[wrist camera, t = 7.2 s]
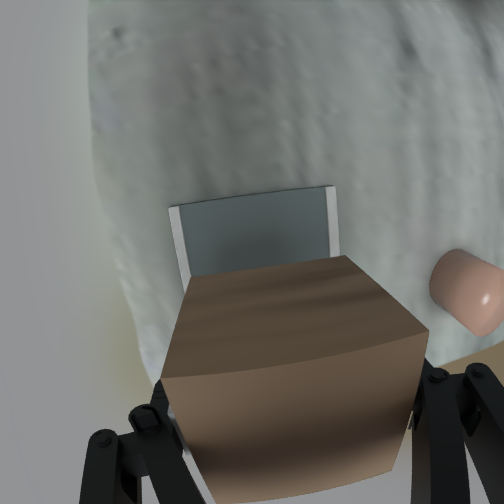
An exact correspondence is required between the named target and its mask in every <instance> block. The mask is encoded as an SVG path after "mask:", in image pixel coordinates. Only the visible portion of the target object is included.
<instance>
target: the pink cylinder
mask: <svg viewBox="0 0 504 504" xmlns="http://www.w3.org/2000/svg"><path fill="white" fill-rule="evenodd" d="M429 288H430V295H431V297H432V299H433V301H434V302H435V303H436V304H438V305H439V306H440V307H441V308H443V309H444V310H445V311H446V312H448V313H449V314H450V315H451V316H453V317H454V318H455V319H456V320H457V321H459V322H460V323H461V324H462V325H464V326H465V327H466V328H467V329H468V330H470V331H471V332H472V333H473V334H474V335H476V336H485V335H488V334H490V333H491V332H493V331H494V330H495V329H496V328H497V327H498V326H499V325H500V324H501V322H502V321H503V320H504V270H502V269H500V268H498V267H496V266H494V265H492V264H490V263H488V262H486V261H484V260H482V259H480V258H478V257H476V256H474V255H472V254H470V253H468V252H466V251H464V250H461V249H454V250H451V251H449V252H447V253H446V254H445V255H444V256H443V257H442V258H441V259H440V260H439V261H438V263H437V264H436V266H435V268H434V270H433V272H432V275H431V279H430V287H429Z"/></svg>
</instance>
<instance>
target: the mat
mask: <svg viewBox="0 0 504 504" xmlns="http://www.w3.org/2000/svg"><path fill="white" fill-rule="evenodd" d="M168 210H169V216H170V222H171V228H172V233H173V238H174V244H175V249H176V254H177V259H178V264H179V269H180V274H181V279H182V283H183V288H184V293H186V290H187V287H188V284H189V280H190V277H196V276H203V275H211V274H218V273H226V272H233V271H240V270H247V269H254V268H262V267H269V266H276V265H283V264H289V263H296V262H303V261H310V260H317V259H323V258H330V257H337V256H340V251H339V230H338V213H337V199H336V186H321V187H311V188H302V189H293V190H284V191H275V192H267V193H259V194H251V195H243V196H236V197H229V198H222V199H215V200H208V201H201V202H195V203H188V204H182V205H176V206H170V207H169V208H168Z"/></svg>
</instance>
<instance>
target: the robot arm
mask: <svg viewBox="0 0 504 504" xmlns="http://www.w3.org/2000/svg"><path fill="white" fill-rule="evenodd" d="M412 411H413V414H412V417H411V420H410V424H409V427H408V429H411V426H412V487H411V488H412V489H411V504H470V489H469V479H468V468H467V460H466V453H465V446H464V442H465V444H466V447H467V449H468V451H469V453H470V456H471V458H472V460H473V463H474V465H475V467H476V470H477V472H478V474H479V477H480V479H481V482H482V484H483V487H484V489H485V492H486V495H487V497H488V500H489V503H490V504H504V387H503V385H502V384H501V383H500V381H499V380H498V379H497V377H496V376H495V375H494V373H493V372H492V371H491V369H490V368H489V367H488V366H487V365H485V364H483V363H472V364H470V365H468V366H467V367H466V370H465V373H461V374H452V375H450V374H449V372H447V371H446V370H444V369H442V368H434V367H433V366H432V365H431V364H430V363H429V362H428V361H427V359H426V358H424V363H423V367H422V372H421V376H420V380H419V385H418V389H417V393H416V396H415V400H414V404H413V408H412ZM128 420H129V422H130V423H131V425H132V427H133V429H134V432H131V433H128V434H123V435H119V436H118V435H117V434H116V433H115V431H112V430H110V429H102V430H99V431H97V432H95V433H94V434H93V435H92V436H91V437H90V439H89V442H88V448H87V453H86V459H85V465H84V471H83V478H82V485H81V492H80V501H79V504H142V488H141V487H142V486H141V485H142V484H141V477H143V476H148V475H149V476H150V479H151V482H152V485H153V488H154V490H155V493H156V496H157V498H158V501H159V503H160V504H206V502H205V501H204V499H203V497H202V495H201V493H200V491H199V489H198V487H197V485H196V484H195V482H194V480H193V478H192V476H191V474H190V472H189V470H188V468H187V466H186V463H185V461H184V460H183V457H182V454H183V449H184V451H185V454H186V455H192V454H191V452H190V450H189V448H188V446H187V443H186V441H185V439H184V437H183V434H182V432H181V430H180V427H179V425H178V423H177V420H176V418H175V415H174V413H173V411H172V408H171V406H170V403H169V400H168V398H167V395H166V393H165V390H164V387H163V385H162V382H161V379H159V380H158V382H157V383H156V384H155V387H154V391H153V395H152V399H151V402H150V404H143V405H140V406H137V407H135V408H134V409H133V410H132V411H131V412H130V414H129V418H128Z"/></svg>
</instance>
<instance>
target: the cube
mask: <svg viewBox="0 0 504 504" xmlns="http://www.w3.org/2000/svg"><path fill="white" fill-rule="evenodd" d="M428 337H429V330H428V329H427V328H426V327H425V326H424V325H423V324H422V323H421V322H420V321H419V320H418V319H416V318H415V317H414V316H413V315H412V314H411V313H410V312H409V311H408V310H407V309H406V308H404V307H403V306H402V305H401V304H400V303H399V302H398V301H397V300H396V299H395V298H393V297H392V296H391V295H390V294H389V293H388V292H387V291H386V290H384V289H383V288H382V287H381V286H380V285H379V284H378V283H377V282H375V281H374V280H373V279H372V278H371V277H370V276H369V275H367V274H366V273H365V272H364V271H363V270H362V269H361V268H359V267H358V266H357V265H356V264H355V263H354V262H352V261H351V260H350V259H349V258H348V257H347V256H345V255H343V256H337V257H330V258H323V259H317V260H310V261H303V262H296V263H289V264H283V265H276V266H269V267H262V268H254V269H247V270H240V271H233V272H226V273H218V274H211V275H203V276H196V277H190V280H189V284H188V287H187V290H186V293H185V296H184V299H183V302H182V306H181V309H180V312H179V315H178V319H177V322H176V325H175V329H174V332H173V335H172V339H171V342H170V345H169V349H168V352H167V356H166V359H165V363H164V366H163V370H162V373H161V377H160V379H161V382H162V385H163V387H164V390H165V393H166V395H167V398H168V400H169V403H170V406H171V408H172V411H173V413H174V415H175V418H176V420H177V423H178V425H179V427H180V430H181V432H182V434H183V437H184V439H185V441H186V443H187V446H188V448H189V450H190V452H191V454H192V456H193V458H194V461H195V463H196V465H197V467H198V469H199V471H200V473H201V475H202V477H203V479H204V481H205V483H206V485H207V487H208V489H209V491H210V493H211V494H212V497H213V498H214V500H215V502H216V504H233V503H246V502H256V501H265V500H273V499H280V498H287V497H293V496H298V495H304V494H309V493H314V492H319V491H323V490H328V489H332V488H335V487H340V486H343V485H347V484H351V483H354V482H358V481H361V480H365V479H368V478H371V477H374V476H378V475H380V474H384V473H386V472H389V471H391V470H392V468H393V465H394V463H395V460H396V457H397V454H398V452H399V449H400V446H401V443H402V440H403V437H404V434H405V431H406V428H407V425H408V421H409V418H410V414H411V411H412V408H413V404H414V400H415V396H416V393H417V389H418V385H419V380H420V376H421V372H422V367H423V363H424V358H425V353H426V348H427V342H428Z"/></svg>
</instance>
